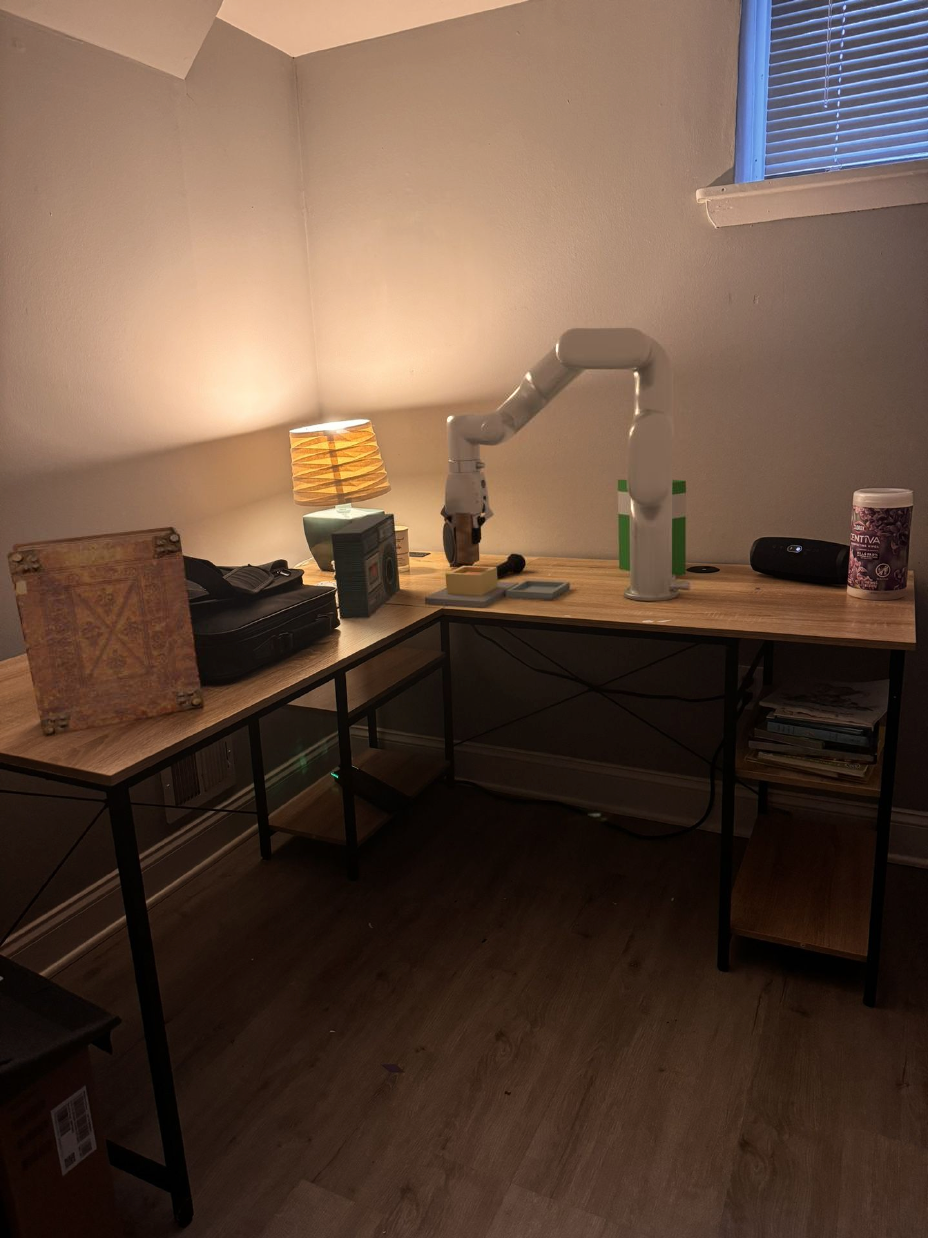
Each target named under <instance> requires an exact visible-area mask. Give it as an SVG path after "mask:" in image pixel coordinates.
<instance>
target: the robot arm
mask: <svg viewBox="0 0 928 1238" xmlns="http://www.w3.org/2000/svg"><path fill="white" fill-rule="evenodd" d="M586 370H624V371H625V370H627V371H630V372H631V373H632V375H633V380H634V393H633V395H634V396H633V397H634V399H633V400H634V402H633V403H634V405H633V409H634V410H633V419H632V422H631V424H630V427H629V431H628V440H627V441H628V442H627V465H626V467H627V468H626V469H627V471H626V480H627V490H628V493H629V495H630V571H629V572H630V573H629V575H630V578H629V579H630V584H629V585H630V586H629V587H626V588H625V589H624V590H623V596H624V598H627V599H629V600H633V601H634V600H635V601H640V602H641V601H643V602H656V601H657V602H659V601H666V600H667V601H668V600H671V599H675V598H677V596H679V591H690V590H691V581H688V580H678V579H676V576H675V575H672V480H673V475H672V474H673V461H674V460H673V459H674V438H675V435H674V434H675V427H674V421H673V420H674V417H673V416H674V370H673V364H672V361H671V359H670V356H669V354H668V353H667V351H666V350H665V349H664V347H663V345H662V344H660V343H659V342H658V341H657V340H655V339H654V338H653V337H651V336H649V335H647V334H646V333H645V332H643V331H642V330H640V329H637V328H633V327H602V328H601V327H600V328H599V327H597V328H596V327H595V328H591V327H590V328H588V327H574V328H573V327H572V328H570V329H568V330H565V331H564V332H563V333H562V334H561V335H560V336H559V337H558V338H557V342H556V344H555V345H554V347H552V348H551V349H550V351H548V352H547V354H545V355H544V356H543V357H542V358H541V359H540V360H539V361H538V362H536V364H534V365H533V366H532V367H531V368H530V369H529V370H528V371H527V372H526V373H525V375H524V376H523V379H522V381H521V383H520V385H519V386H518V388H517V389H515V391H514V392H513V393H512V394H511V395H510V396H509V397H508V398H507V399H506V400H505V401H504V402H503V403H502V404H501V405H500V406H499V407H497V408H496V409H495V411H491V412H487V413H483V414H474V413H459V414H458V413H457V414H452V415H451V414H450V415H449V416H448V417H447V419H446V434H447V453H448V454H447V455H448V473H447V474H446V478H445V487H444V504H443V507H442V509H441V511H440V515H441V517H443V518H444V517H445V518H446V519H447V520H448V521H449V522H450V523H451V526H452V527H454V539H455V543H456V544H457V539H456V518H455V512H458V513H470V515H472V521H473V526H474V528H472V543H473V544H474V545H475V544H478V543H479V544H480V543H481V540H482V527H483V526H484V524H485V522H487V520H489V519H491V517H493V516H494V514H495V513H494V512H493V510H492V509H491V506H490V500H489V491H488V485H487V480H486V475H485V472H481V470H482V469H485V467H486V463H485V462H482V459H481V450H480V445H481V446H491V447H492V446H498V445H501V444H503V443H506V442H508V441H510V439H512V438H513V437H514V436H516V434H518V432H520V431H521V430H522V429H523V428H524V427H525V426H527V424H529V422H531V420H533V419H534V418H535V417H536V416H537V415H538V414H539V413H541V411H542V410H543V409H545V408H546V407H547V406H548V405H549V404H550V403H551V402H552V401H553V400H555V399H556V397H558V396H559V395H560V394H561V393H562V392H563V391H564V390H565V389H566V388H567V387H568V386H569V385H571V384H572V383H573V382H574V381H575V379H577V378H579V377H580V376H581V375H582V374H583V373H584V372H585V371H586ZM482 514H483V516H482Z"/></svg>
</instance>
